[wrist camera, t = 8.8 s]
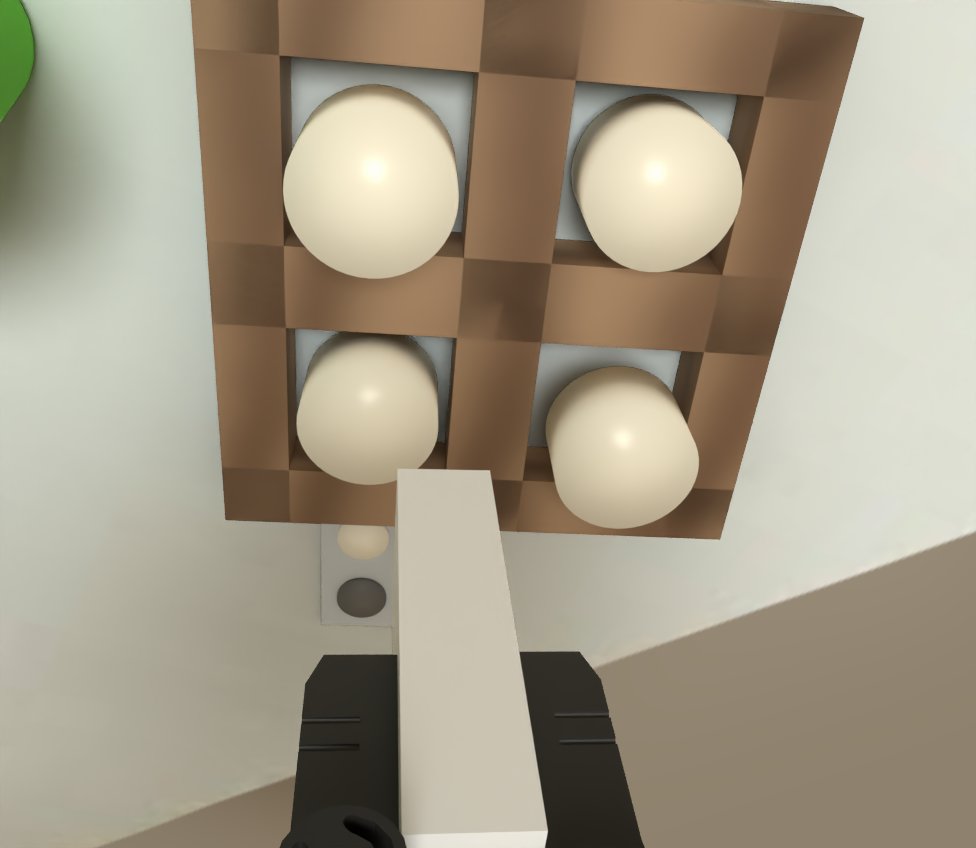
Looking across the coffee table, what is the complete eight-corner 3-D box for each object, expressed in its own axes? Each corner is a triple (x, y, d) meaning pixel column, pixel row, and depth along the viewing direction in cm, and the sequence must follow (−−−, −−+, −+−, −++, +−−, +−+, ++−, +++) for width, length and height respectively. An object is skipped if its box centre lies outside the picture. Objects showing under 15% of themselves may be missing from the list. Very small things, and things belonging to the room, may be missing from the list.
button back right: (538, 477, 36) (546, 526, 33) (554, 362, 33) (565, 404, 31) (665, 483, 36) (683, 531, 34) (691, 370, 34) (712, 412, 31)
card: (322, 620, 43) (320, 628, 43) (321, 496, 39) (320, 504, 39) (473, 624, 44) (473, 632, 43) (486, 503, 40) (487, 510, 40)
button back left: (306, 438, 37) (297, 481, 34) (305, 322, 34) (295, 360, 32) (433, 444, 37) (434, 487, 35) (441, 330, 35) (442, 368, 32)
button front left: (297, 237, 30) (284, 273, 28) (294, 77, 28) (280, 100, 25) (450, 248, 31) (452, 284, 28) (462, 91, 28) (465, 114, 26)
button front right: (562, 235, 33) (573, 266, 30) (582, 88, 30) (596, 109, 28) (700, 244, 33) (722, 276, 31) (731, 100, 31) (759, 122, 28)
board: (236, 483, 39) (225, 519, 37) (205, -54, 29) (187, -46, 26) (704, 503, 41) (719, 539, 39) (833, 6, 30) (864, 18, 28)
